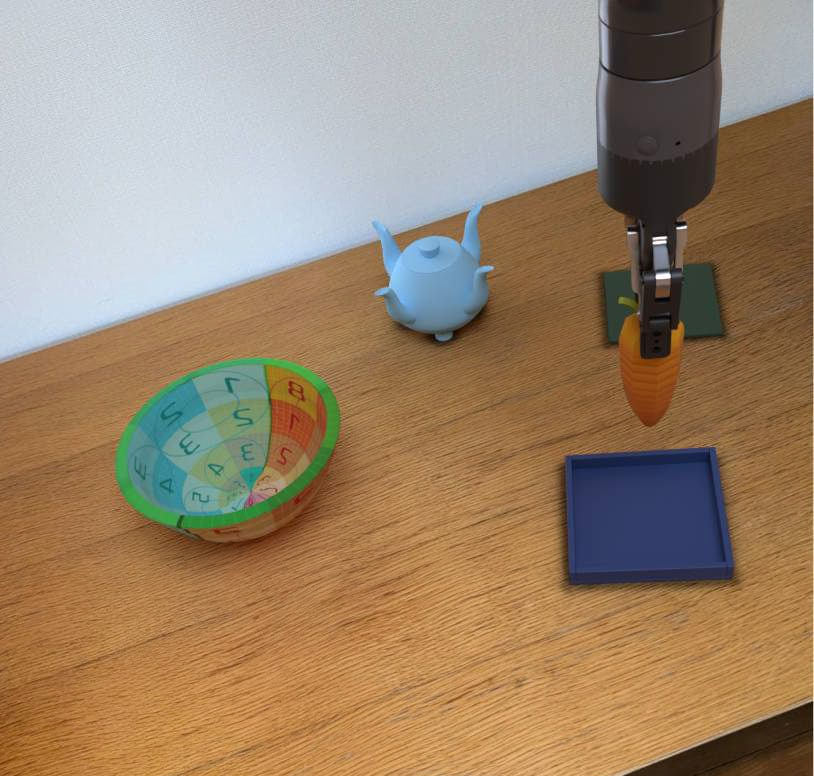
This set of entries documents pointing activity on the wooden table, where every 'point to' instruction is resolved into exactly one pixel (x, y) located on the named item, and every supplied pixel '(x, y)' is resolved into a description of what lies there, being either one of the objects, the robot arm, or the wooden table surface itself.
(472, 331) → the wooden table surface
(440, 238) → the teapot
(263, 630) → the wooden table surface
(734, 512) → the wooden table surface
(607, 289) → the mat
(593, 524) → the tray
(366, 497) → the wooden table surface
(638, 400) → the carrot
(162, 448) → the bowl
